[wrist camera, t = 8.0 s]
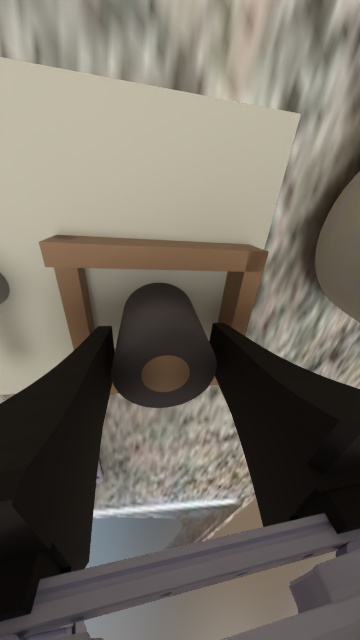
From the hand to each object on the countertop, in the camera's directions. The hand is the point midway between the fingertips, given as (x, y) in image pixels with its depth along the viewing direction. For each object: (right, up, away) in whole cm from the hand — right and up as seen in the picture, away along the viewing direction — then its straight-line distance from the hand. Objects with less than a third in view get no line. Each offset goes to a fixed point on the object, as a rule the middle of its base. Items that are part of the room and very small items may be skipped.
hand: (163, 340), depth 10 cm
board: (-5, +4, +1) cm, 7 cm away
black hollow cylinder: (0, +1, +2) cm, 3 cm away
